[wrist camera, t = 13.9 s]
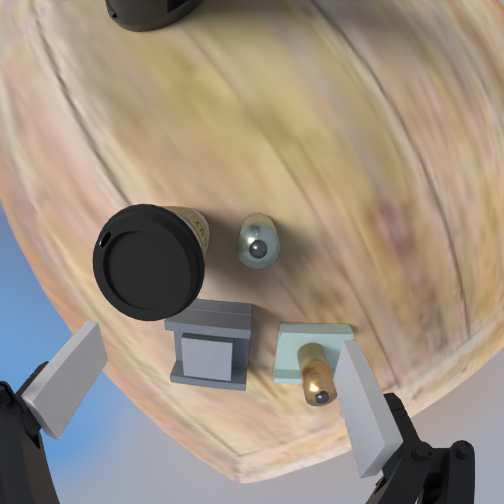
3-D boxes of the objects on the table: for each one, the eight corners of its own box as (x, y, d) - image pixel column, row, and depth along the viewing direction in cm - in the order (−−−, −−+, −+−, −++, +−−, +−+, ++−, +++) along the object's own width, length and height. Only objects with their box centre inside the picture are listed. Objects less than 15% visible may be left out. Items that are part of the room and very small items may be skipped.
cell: (298, 342, 37) (309, 388, 28) (326, 342, 37) (342, 386, 28) (294, 364, 38) (303, 410, 29) (320, 364, 38) (334, 409, 29)
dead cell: (242, 211, 33) (237, 225, 24) (276, 214, 33) (283, 229, 24) (240, 243, 34) (234, 269, 25) (273, 246, 34) (278, 273, 25)
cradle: (178, 296, 37) (164, 319, 30) (252, 303, 37) (251, 329, 30) (181, 355, 39) (170, 382, 33) (247, 362, 39) (245, 391, 33)
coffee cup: (189, 283, 36) (151, 348, 22) (136, 233, 34) (69, 270, 20) (241, 231, 34) (228, 272, 20) (183, 176, 32) (128, 178, 18)
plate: (184, 330, 32) (181, 337, 31) (233, 336, 32) (232, 343, 31) (186, 368, 34) (183, 375, 32) (231, 373, 34) (230, 380, 32)
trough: (280, 321, 37) (281, 332, 34) (348, 324, 37) (354, 334, 34) (272, 371, 40) (273, 383, 37) (335, 371, 40) (339, 383, 37)
